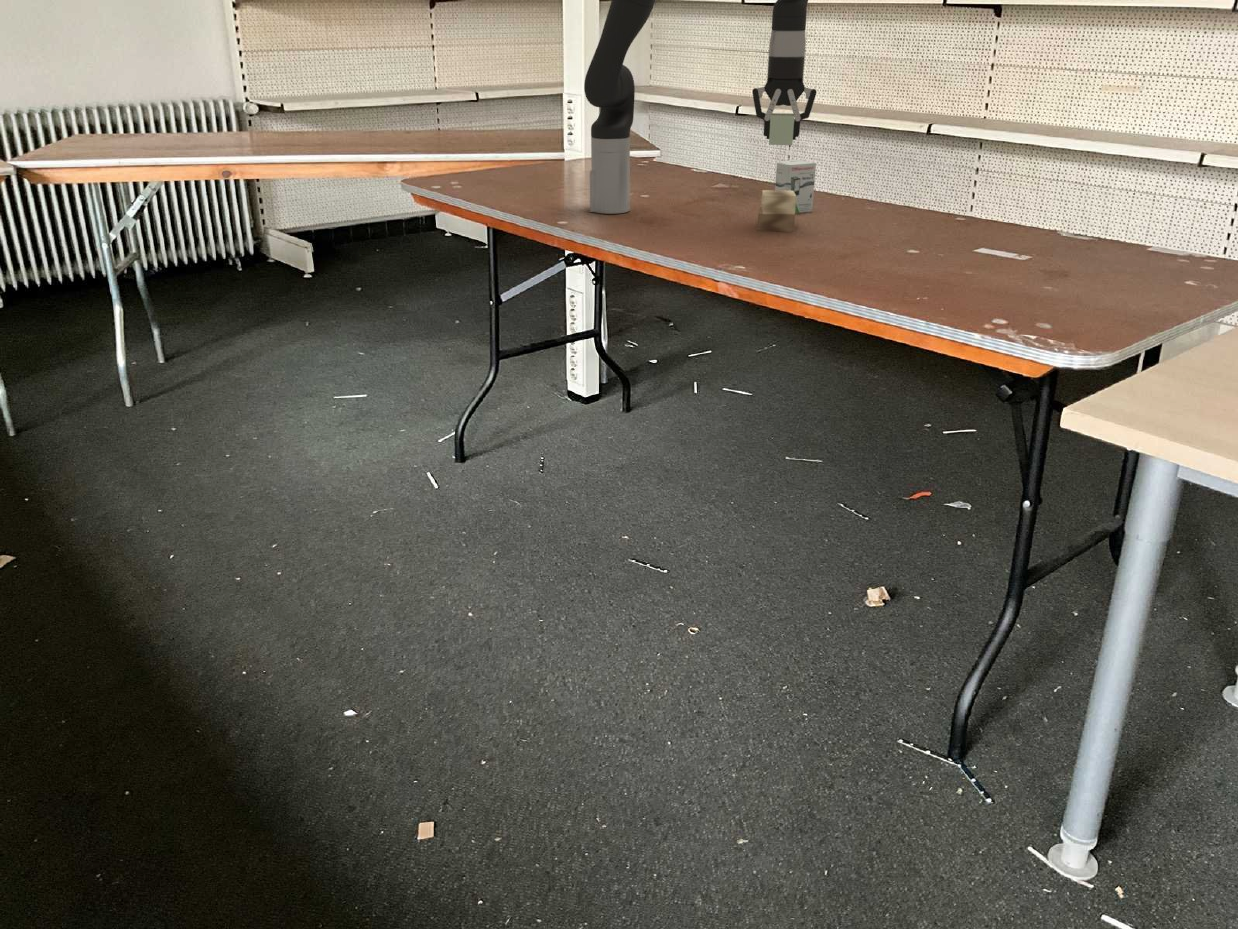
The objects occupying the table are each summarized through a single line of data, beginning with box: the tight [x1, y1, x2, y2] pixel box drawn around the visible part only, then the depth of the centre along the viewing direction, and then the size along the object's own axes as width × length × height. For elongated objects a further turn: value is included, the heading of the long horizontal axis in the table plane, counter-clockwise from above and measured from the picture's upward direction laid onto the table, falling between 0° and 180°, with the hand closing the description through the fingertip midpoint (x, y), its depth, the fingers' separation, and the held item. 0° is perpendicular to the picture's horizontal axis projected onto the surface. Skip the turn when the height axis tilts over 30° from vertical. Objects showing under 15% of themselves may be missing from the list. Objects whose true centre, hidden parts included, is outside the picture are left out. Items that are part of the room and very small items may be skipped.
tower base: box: [756, 206, 796, 233], centre depth 219 cm, size 8×8×4 cm
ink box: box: [774, 159, 817, 214], centre depth 234 cm, size 9×5×12 cm, turn 119°
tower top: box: [760, 189, 796, 216], centre depth 217 cm, size 7×7×4 cm
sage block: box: [768, 112, 795, 146], centre depth 211 cm, size 5×5×6 cm
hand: (781, 138), depth 211 cm, fingers closed on sage block, 5 cm apart
